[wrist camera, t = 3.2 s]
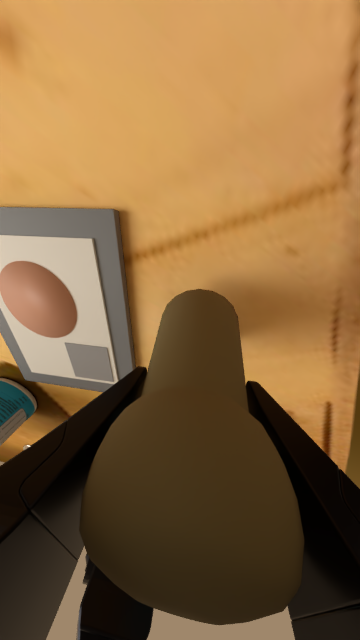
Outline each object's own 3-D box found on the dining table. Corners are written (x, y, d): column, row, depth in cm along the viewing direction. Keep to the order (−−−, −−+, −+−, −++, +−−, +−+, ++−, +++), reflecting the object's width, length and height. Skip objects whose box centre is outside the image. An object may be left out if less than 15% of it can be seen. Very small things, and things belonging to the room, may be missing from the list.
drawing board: (138, 391, 21) (135, 399, 20) (31, 375, 23) (23, 381, 22) (118, 211, 12) (111, 208, 11) (-53, 207, 14) (-72, 204, 13)
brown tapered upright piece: (228, 277, 11) (467, 622, 1) (245, 349, 13) (370, 678, 3) (149, 302, 12) (-62, 527, 3) (176, 362, 15) (117, 608, 5)
